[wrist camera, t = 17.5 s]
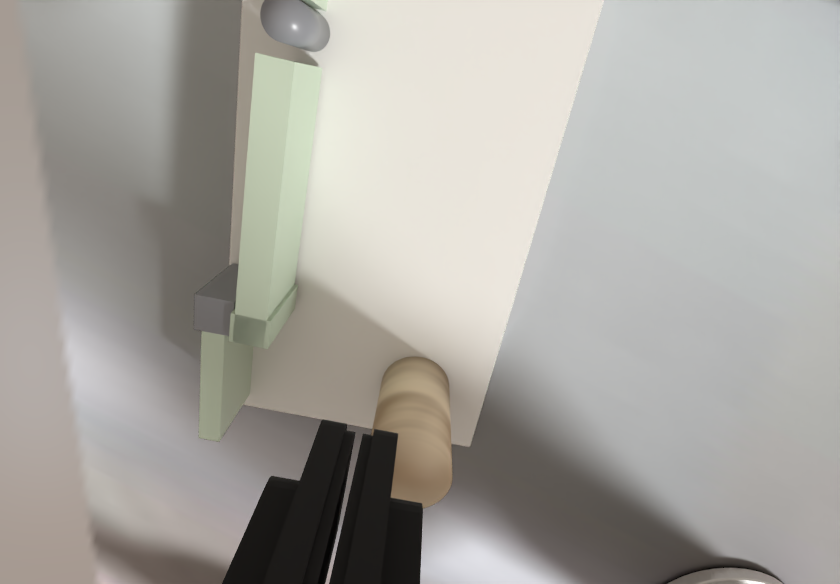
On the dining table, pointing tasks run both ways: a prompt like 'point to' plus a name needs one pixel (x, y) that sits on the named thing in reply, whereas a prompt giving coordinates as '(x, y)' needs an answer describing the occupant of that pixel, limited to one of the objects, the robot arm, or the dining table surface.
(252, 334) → the gate
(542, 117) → the gate frame
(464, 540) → the dining table surface
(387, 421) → the roller
